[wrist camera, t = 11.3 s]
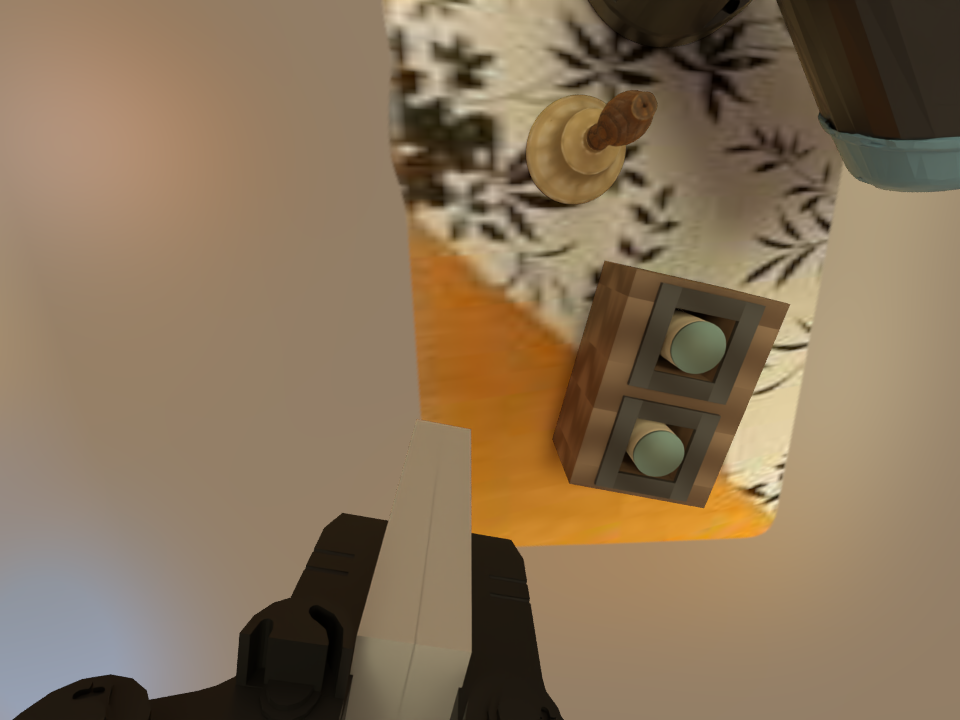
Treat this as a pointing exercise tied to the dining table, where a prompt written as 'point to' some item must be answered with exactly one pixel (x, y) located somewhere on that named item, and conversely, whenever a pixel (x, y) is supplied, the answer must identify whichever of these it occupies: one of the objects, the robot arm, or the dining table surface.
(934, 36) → the robot arm
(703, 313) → the socket block
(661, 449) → the peg
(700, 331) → the peg
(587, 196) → the hand bell
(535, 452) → the dining table surface
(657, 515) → the dining table surface
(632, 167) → the dining table surface
